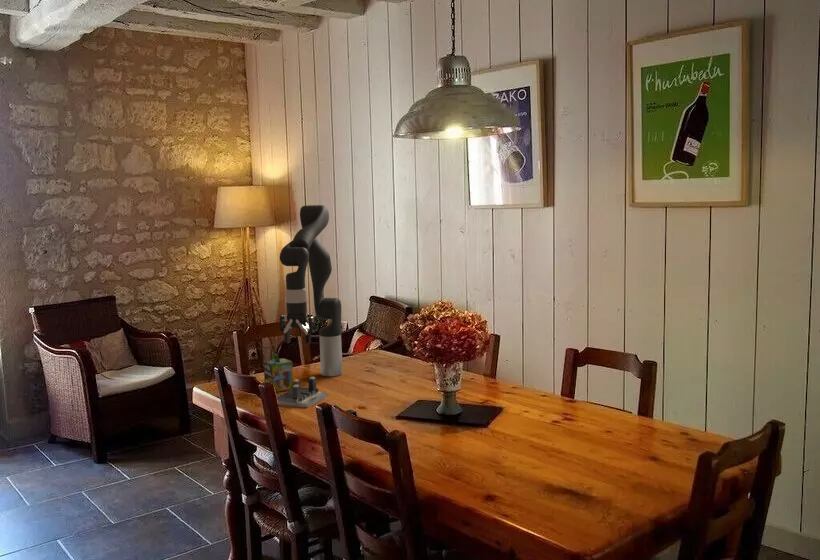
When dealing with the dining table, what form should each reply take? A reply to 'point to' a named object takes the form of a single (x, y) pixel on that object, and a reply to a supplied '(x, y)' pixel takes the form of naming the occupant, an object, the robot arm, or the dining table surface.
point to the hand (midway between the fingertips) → (297, 343)
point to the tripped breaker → (296, 383)
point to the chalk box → (279, 373)
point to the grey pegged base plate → (302, 395)
